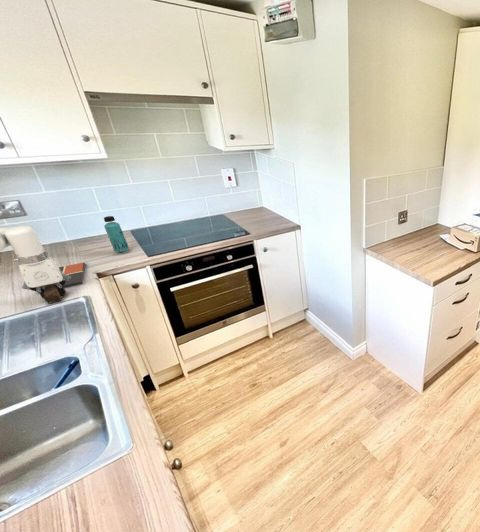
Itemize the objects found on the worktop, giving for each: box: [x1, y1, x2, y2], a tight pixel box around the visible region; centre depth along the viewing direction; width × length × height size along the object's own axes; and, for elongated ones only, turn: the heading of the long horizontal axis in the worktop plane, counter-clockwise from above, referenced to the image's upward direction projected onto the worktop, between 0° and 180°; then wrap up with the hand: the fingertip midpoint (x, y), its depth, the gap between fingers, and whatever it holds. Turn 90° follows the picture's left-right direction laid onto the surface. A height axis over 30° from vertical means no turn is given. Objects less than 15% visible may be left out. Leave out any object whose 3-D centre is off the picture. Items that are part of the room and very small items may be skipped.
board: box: [37, 261, 86, 295], centre depth 148 cm, size 14×24×1 cm, turn 39°
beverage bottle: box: [103, 215, 129, 253], centre depth 169 cm, size 6×7×20 cm
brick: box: [44, 283, 62, 305], centre depth 132 cm, size 11×4×5 cm, turn 41°
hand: (55, 296), depth 134 cm, fingers closed on brick, 4 cm apart
